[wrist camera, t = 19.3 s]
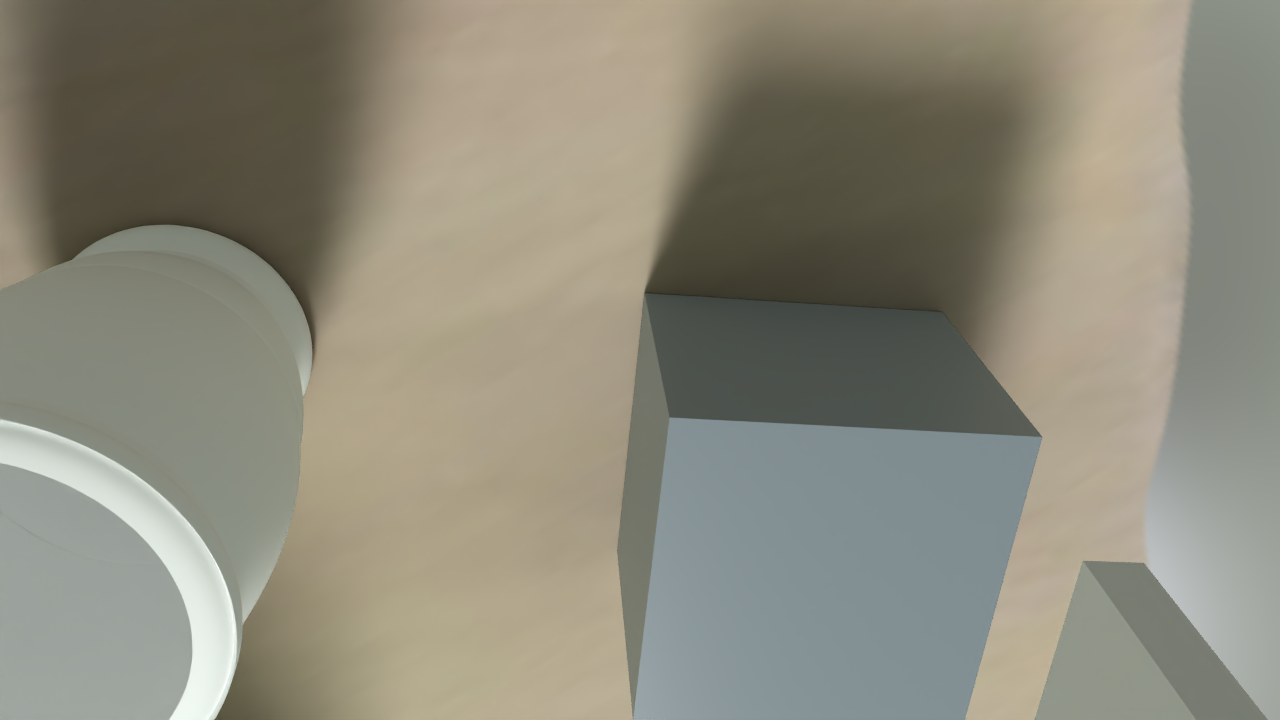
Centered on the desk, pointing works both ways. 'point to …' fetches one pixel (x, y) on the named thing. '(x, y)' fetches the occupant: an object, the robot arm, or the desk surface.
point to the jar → (143, 472)
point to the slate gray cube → (813, 512)
